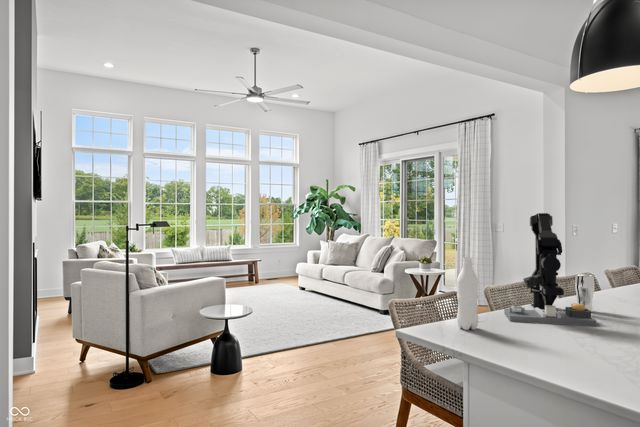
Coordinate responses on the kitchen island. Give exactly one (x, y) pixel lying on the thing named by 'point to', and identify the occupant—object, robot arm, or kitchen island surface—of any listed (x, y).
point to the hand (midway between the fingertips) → (548, 309)
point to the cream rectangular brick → (550, 311)
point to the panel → (561, 317)
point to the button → (578, 307)
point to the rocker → (516, 307)
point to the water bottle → (467, 296)
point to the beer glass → (585, 290)
